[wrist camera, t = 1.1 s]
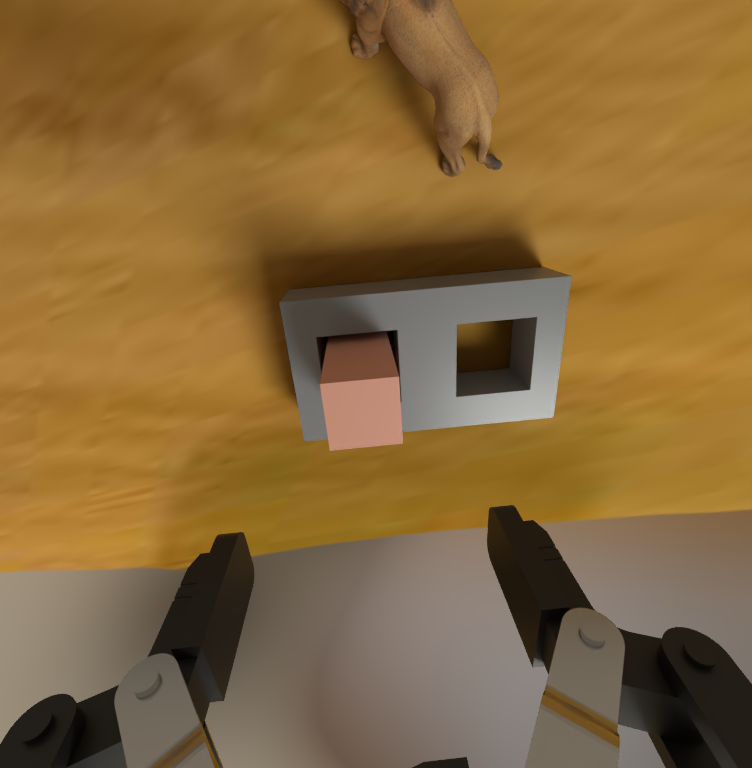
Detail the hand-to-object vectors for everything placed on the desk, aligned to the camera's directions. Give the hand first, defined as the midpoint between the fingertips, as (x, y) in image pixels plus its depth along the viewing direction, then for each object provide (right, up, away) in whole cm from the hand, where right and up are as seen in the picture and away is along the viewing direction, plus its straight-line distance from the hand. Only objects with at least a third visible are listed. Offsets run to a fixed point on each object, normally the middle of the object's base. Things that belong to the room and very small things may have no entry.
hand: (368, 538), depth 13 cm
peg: (-1, +8, +17) cm, 18 cm away
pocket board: (+4, +8, +17) cm, 19 cm away
